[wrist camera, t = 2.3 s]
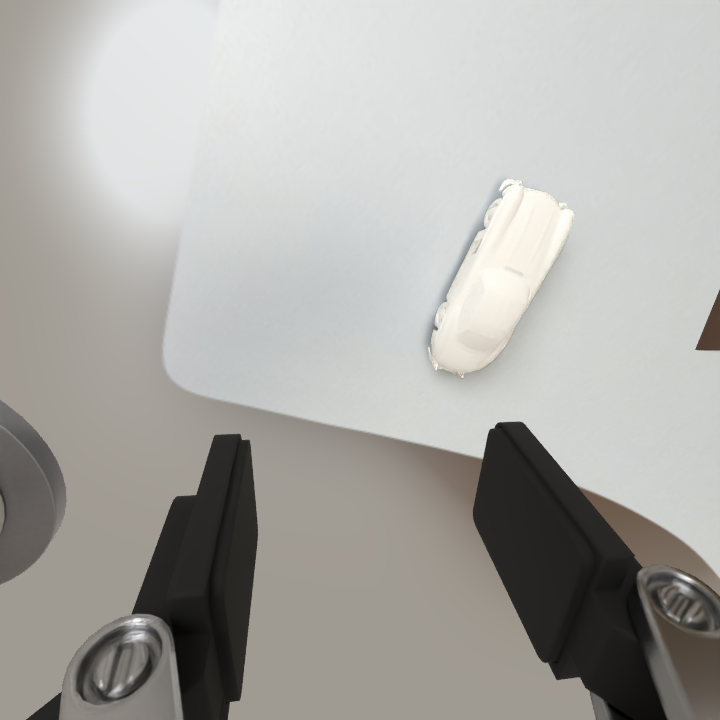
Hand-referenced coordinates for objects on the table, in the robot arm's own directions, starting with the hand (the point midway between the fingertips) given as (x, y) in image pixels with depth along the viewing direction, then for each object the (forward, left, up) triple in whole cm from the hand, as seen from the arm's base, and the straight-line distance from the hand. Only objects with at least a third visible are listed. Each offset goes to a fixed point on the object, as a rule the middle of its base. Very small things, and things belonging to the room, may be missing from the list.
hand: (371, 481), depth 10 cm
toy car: (+10, 0, -18) cm, 20 cm away
